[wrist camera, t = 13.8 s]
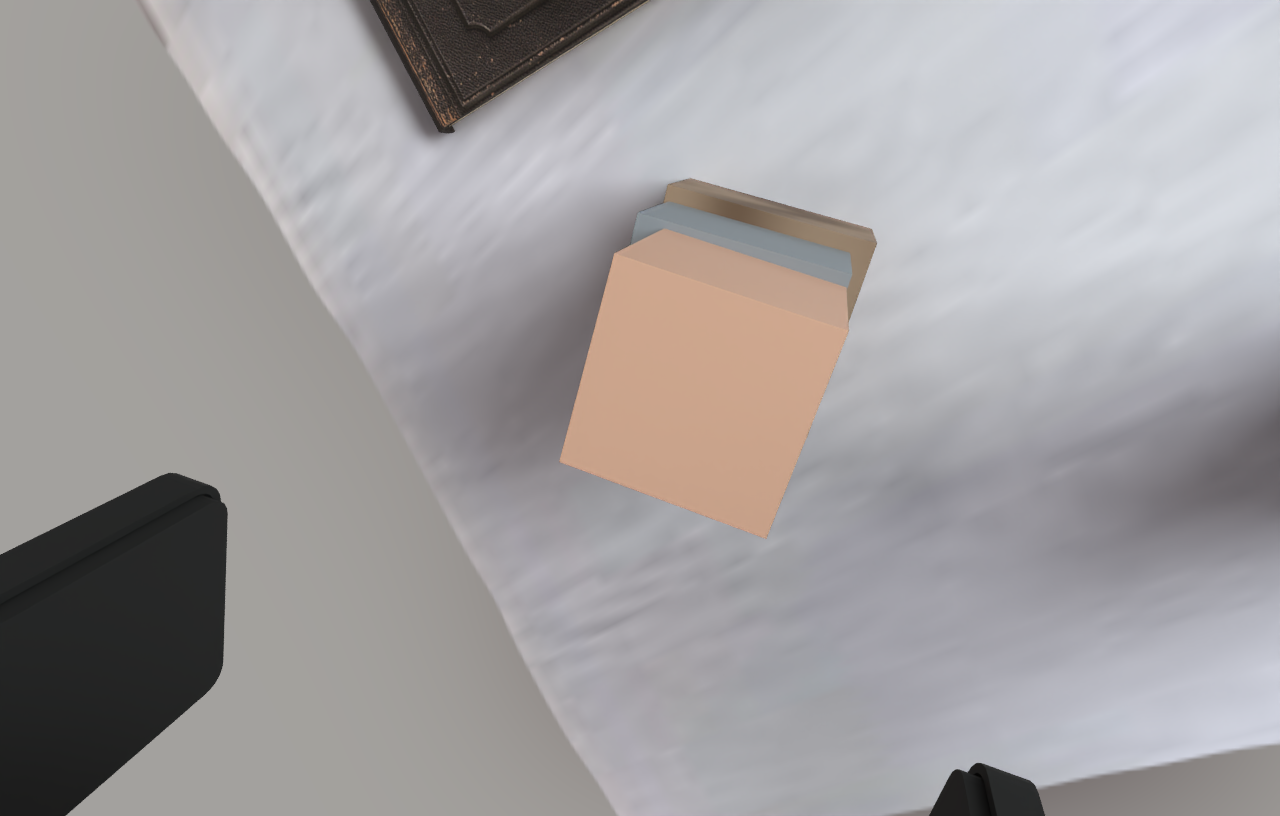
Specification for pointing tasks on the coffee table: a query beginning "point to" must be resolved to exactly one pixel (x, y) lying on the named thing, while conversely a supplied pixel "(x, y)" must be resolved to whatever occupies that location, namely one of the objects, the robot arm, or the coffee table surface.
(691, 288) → the terracotta cube
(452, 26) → the hardcover book
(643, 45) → the coffee table surface
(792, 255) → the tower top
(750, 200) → the tower bottom
